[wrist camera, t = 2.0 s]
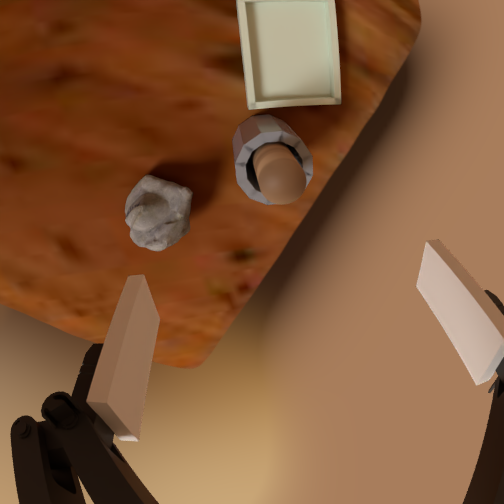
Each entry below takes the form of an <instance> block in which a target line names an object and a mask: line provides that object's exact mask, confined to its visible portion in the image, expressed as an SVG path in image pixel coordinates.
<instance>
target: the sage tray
mask: <svg viewBox="0 0 504 504" xmlns="http://www.w3.org/2000/svg"><path fill="white" fill-rule="evenodd" d="M236 4H237V13H238V22H239V31H240V40H241V50H242V59H243V68H244V78H245V87H246V97H247V106H248V109H249V110H252V109H262V108H274V107H287V106H305V105H332V104H341V82H340V62H339V46H338V32H337V21H336V10H335V0H236Z"/></svg>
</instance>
